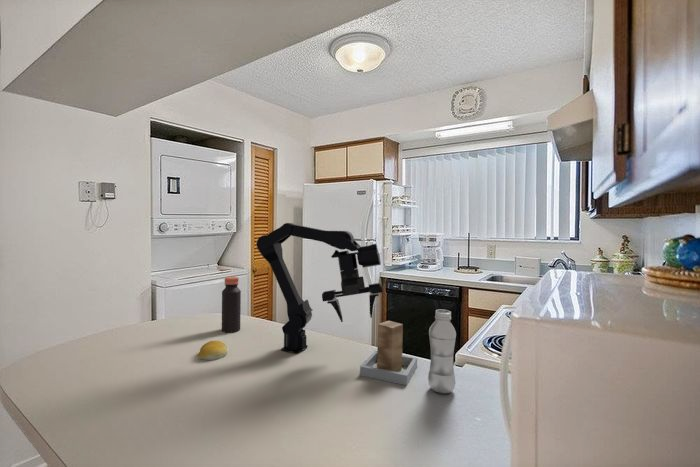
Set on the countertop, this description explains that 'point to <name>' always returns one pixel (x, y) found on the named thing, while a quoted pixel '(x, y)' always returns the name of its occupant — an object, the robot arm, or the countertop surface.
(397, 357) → the walnut block
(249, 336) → the countertop surface
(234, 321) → the vinegar
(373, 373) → the walled pen
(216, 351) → the bread roll
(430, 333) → the plastic bottle
